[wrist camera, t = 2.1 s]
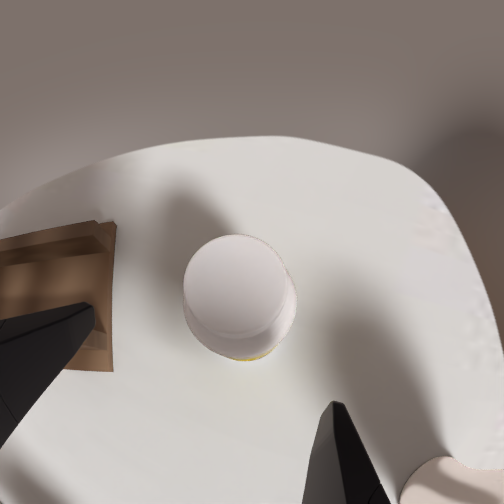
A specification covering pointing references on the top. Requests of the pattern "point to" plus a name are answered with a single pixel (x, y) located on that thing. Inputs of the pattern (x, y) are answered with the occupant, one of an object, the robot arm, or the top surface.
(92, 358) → the walnut rail track
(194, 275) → the supplement bottle
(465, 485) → the beer glass
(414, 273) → the top surface
